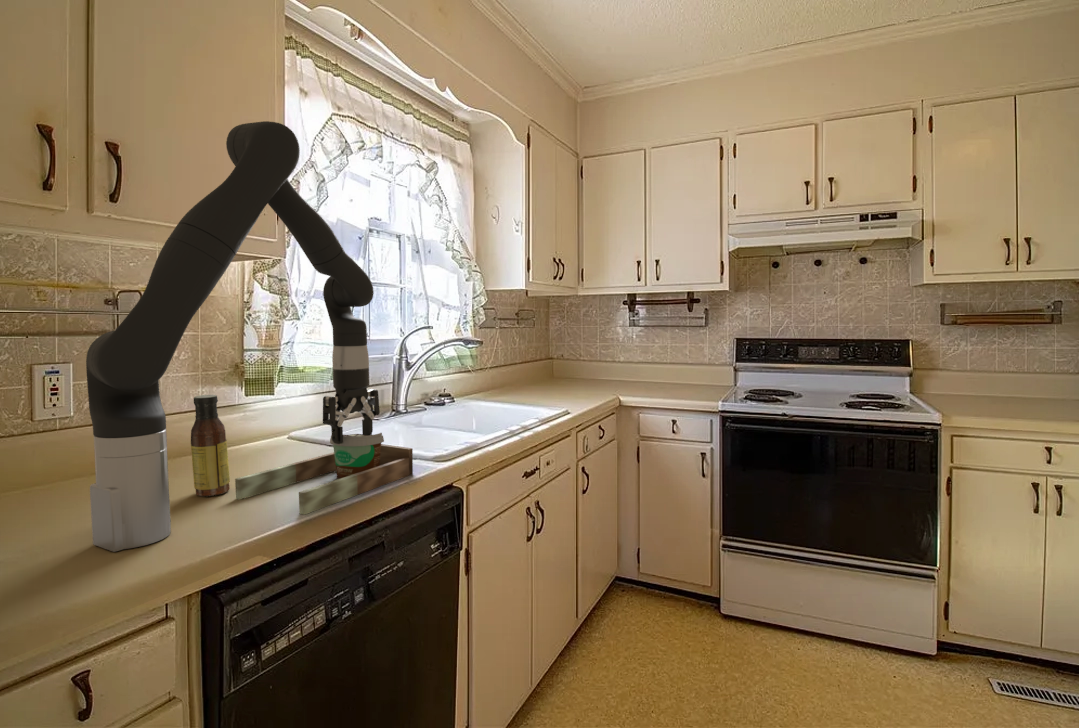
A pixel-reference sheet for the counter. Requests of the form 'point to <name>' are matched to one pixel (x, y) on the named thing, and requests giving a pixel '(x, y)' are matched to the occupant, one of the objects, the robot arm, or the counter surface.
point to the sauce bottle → (209, 449)
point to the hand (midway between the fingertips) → (353, 439)
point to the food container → (357, 453)
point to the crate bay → (390, 469)
